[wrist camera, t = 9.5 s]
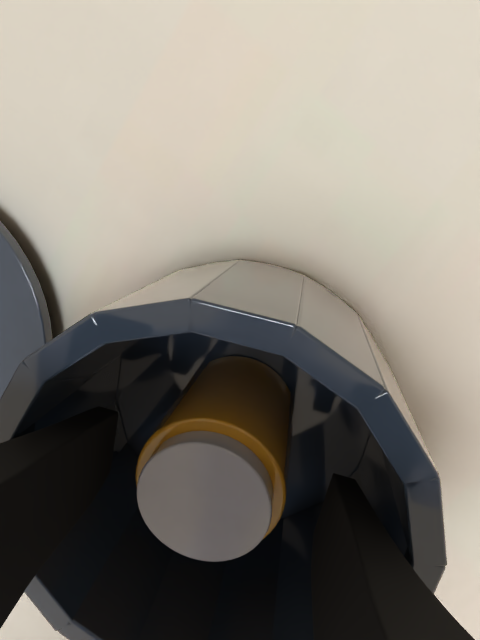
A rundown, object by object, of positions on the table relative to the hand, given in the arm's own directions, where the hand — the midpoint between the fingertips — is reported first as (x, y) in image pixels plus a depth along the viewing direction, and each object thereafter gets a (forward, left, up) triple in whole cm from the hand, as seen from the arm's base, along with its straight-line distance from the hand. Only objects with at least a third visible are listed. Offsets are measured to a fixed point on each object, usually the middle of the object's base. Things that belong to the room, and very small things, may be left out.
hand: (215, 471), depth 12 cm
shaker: (0, 0, -4) cm, 4 cm away
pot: (0, 0, -4) cm, 4 cm away
